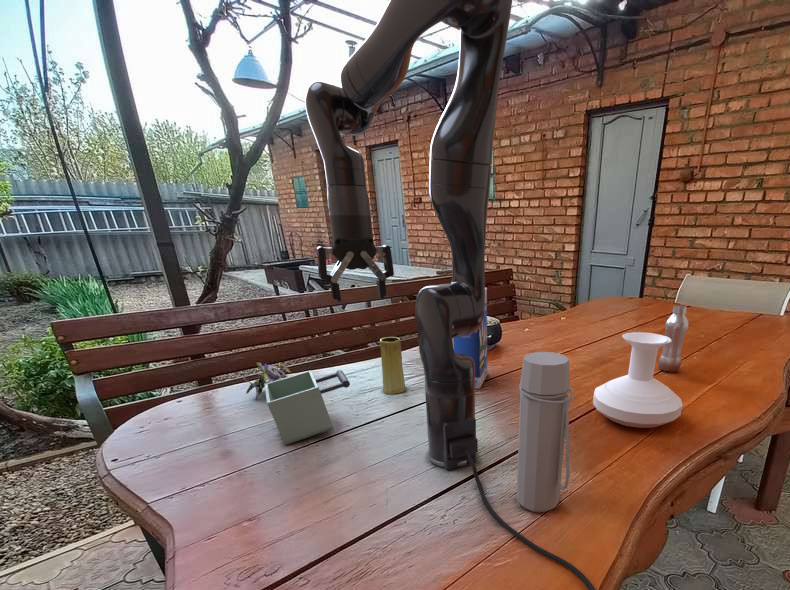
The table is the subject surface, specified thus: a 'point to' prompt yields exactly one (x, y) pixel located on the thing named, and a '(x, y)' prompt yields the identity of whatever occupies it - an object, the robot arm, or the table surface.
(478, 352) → the string lights box
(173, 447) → the table surface
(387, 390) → the vase
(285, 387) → the pale green open box
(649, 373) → the white flared vase
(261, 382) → the passion flower
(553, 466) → the water bottle
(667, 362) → the plastic bottle
